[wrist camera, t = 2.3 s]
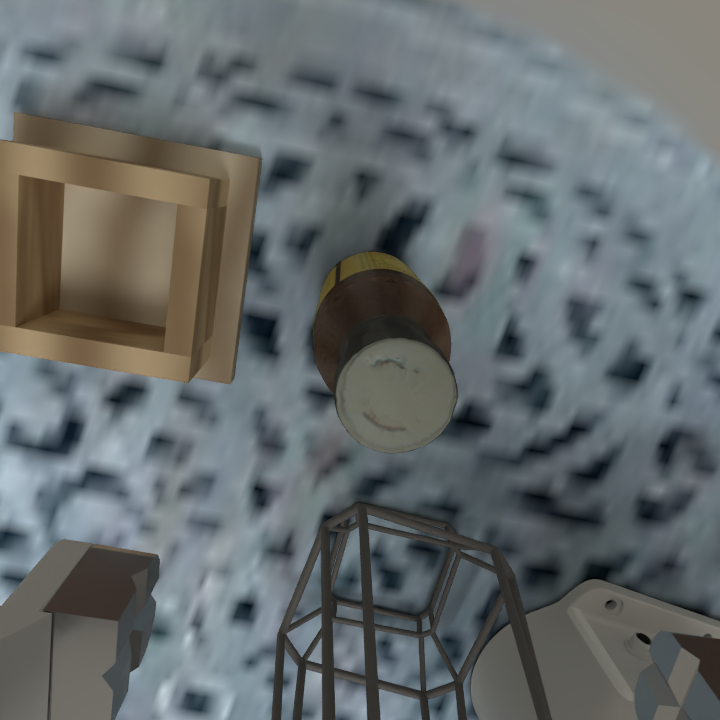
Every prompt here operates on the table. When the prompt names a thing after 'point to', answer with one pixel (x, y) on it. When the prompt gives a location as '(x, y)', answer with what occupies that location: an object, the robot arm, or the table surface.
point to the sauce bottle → (384, 353)
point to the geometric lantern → (329, 611)
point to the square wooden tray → (123, 250)
